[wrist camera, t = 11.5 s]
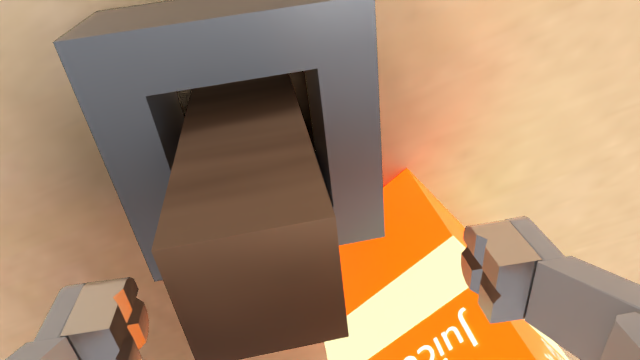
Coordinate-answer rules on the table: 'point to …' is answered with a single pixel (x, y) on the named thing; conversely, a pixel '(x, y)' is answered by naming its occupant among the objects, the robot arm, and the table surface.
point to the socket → (225, 67)
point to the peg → (249, 226)
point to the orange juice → (422, 292)
